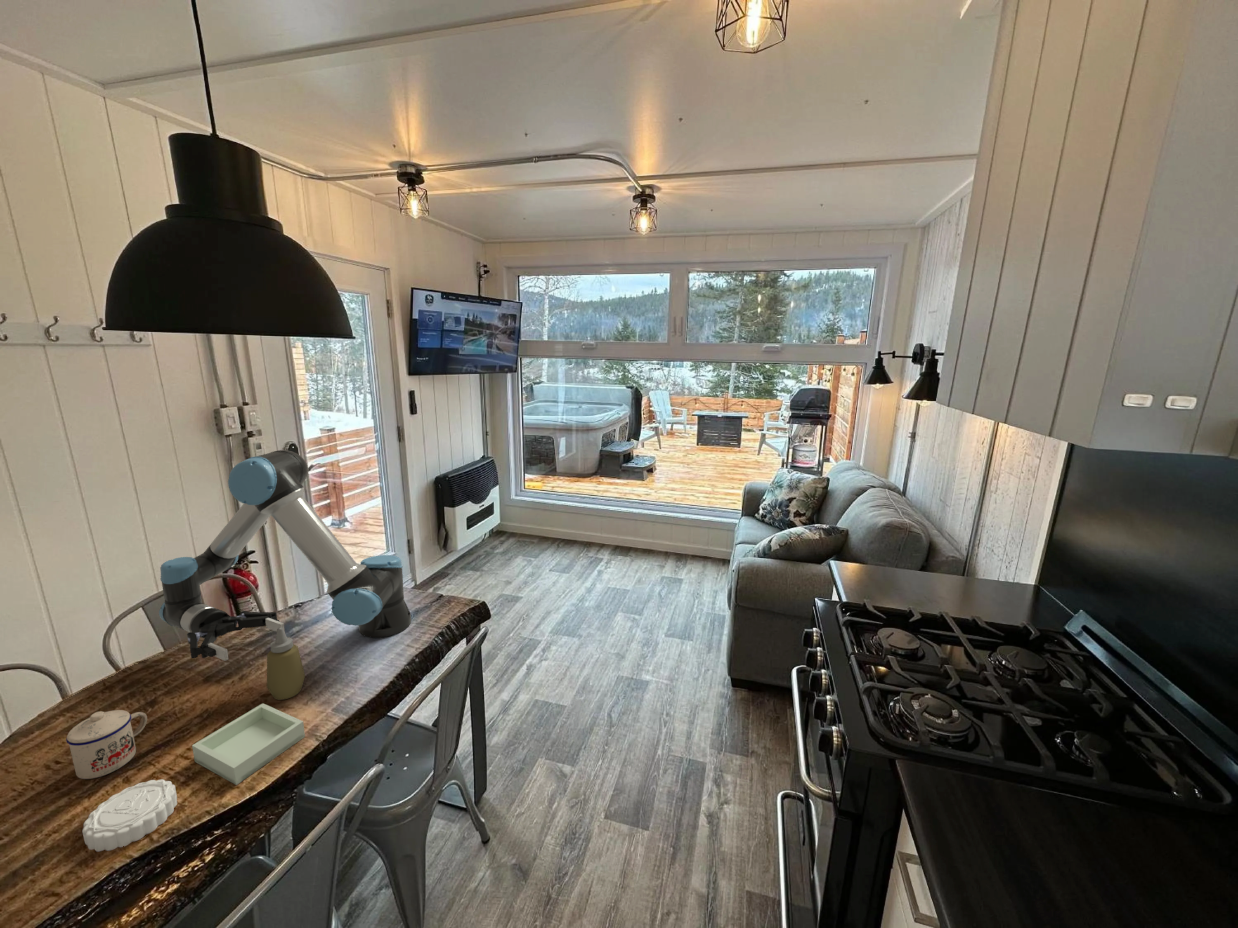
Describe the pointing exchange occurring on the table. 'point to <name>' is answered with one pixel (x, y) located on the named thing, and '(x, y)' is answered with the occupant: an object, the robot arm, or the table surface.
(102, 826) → the mooncake
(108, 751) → the teacup with lid
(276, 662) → the squeeze bottle
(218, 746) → the tray
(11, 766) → the table surface
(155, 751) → the table surface
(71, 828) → the table surface
